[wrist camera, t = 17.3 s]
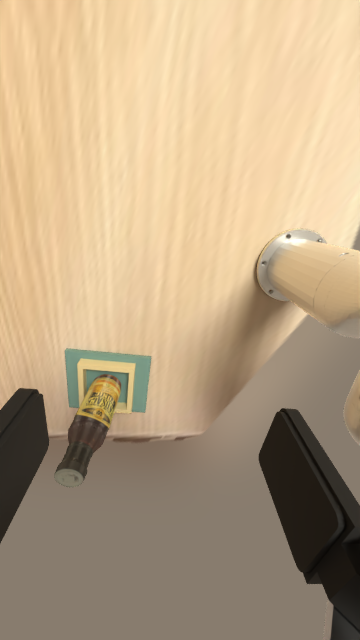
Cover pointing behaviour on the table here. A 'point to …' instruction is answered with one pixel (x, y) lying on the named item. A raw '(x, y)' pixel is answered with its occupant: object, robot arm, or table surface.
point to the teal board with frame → (123, 366)
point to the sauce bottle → (88, 429)
